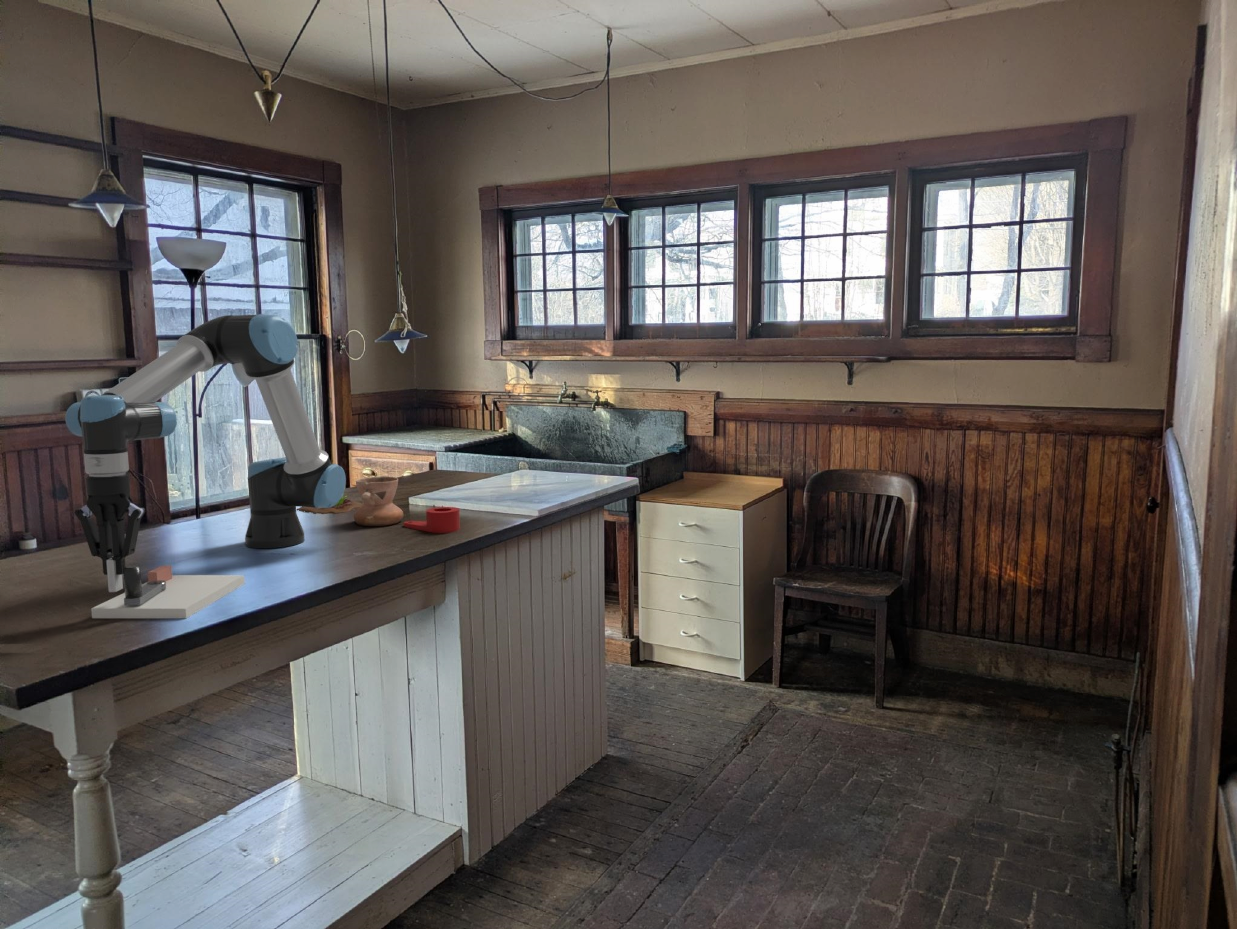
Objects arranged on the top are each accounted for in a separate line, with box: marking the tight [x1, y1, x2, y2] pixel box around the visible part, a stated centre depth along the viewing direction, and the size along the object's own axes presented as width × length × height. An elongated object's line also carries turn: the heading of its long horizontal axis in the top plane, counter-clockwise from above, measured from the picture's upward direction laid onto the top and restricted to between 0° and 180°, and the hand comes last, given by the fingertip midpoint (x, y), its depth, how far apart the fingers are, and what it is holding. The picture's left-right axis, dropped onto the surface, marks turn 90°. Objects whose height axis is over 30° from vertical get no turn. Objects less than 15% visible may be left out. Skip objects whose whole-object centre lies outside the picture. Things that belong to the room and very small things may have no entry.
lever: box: [403, 506, 461, 534], centre depth 258 cm, size 18×9×7 cm, turn 68°
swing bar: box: [122, 565, 166, 606], centre depth 182 cm, size 14×4×8 cm, turn 7°
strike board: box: [90, 565, 246, 619], centre depth 188 cm, size 26×19×5 cm
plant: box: [296, 486, 362, 515], centre depth 289 cm, size 20×20×11 cm
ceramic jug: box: [353, 475, 404, 528], centre depth 266 cm, size 18×14×14 cm
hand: (115, 590), depth 178 cm, fingers closed
